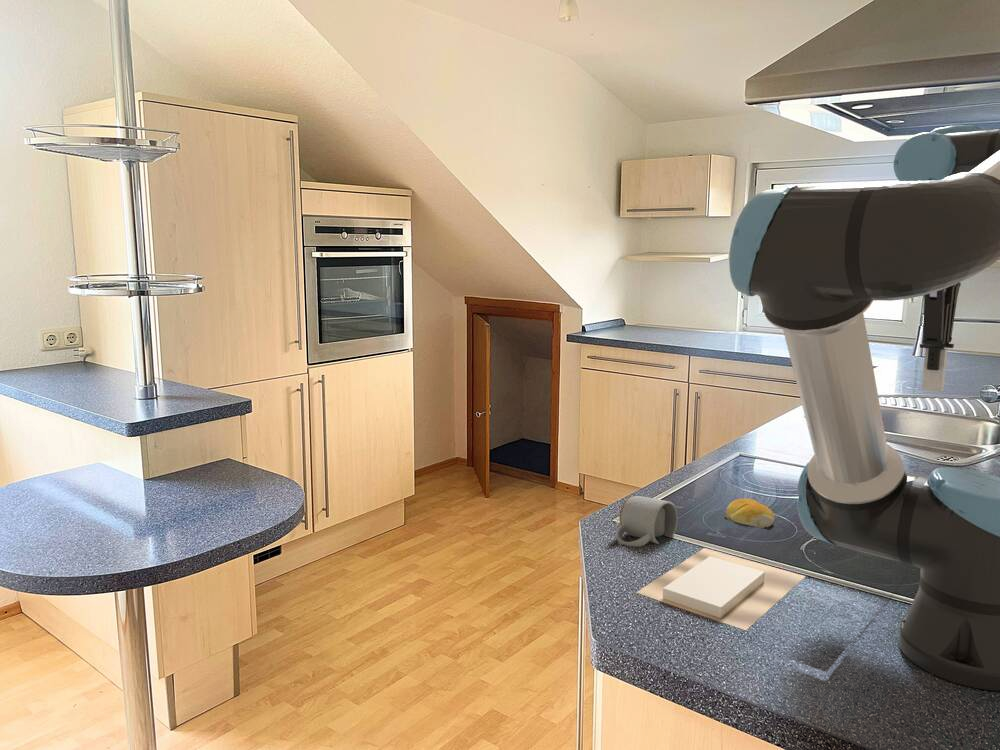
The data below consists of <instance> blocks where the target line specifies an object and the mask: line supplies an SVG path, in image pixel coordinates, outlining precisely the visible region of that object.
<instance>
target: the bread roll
mask: <svg viewBox="0 0 1000 750" xmlns="http://www.w3.org/2000/svg"><path fill="white" fill-rule="evenodd" d="M725 518H726V519H727V521H729V522H735V523H738V524H741V525H746V526H751V527H755V528H759V529H766V528H769V527H771V526H772V525H773V523H774V521H775V519H776V517H775V514H774V512H773V510H771V509H770V508H769V507H767V506H766V505H765V504H762V503H760V502H759V501H757V500H755V499H752V498H738V499H736V500H733V501H732V502H730V503H729V504H728V505H727V507H726V508H725ZM765 527H766V528H765Z"/></svg>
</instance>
